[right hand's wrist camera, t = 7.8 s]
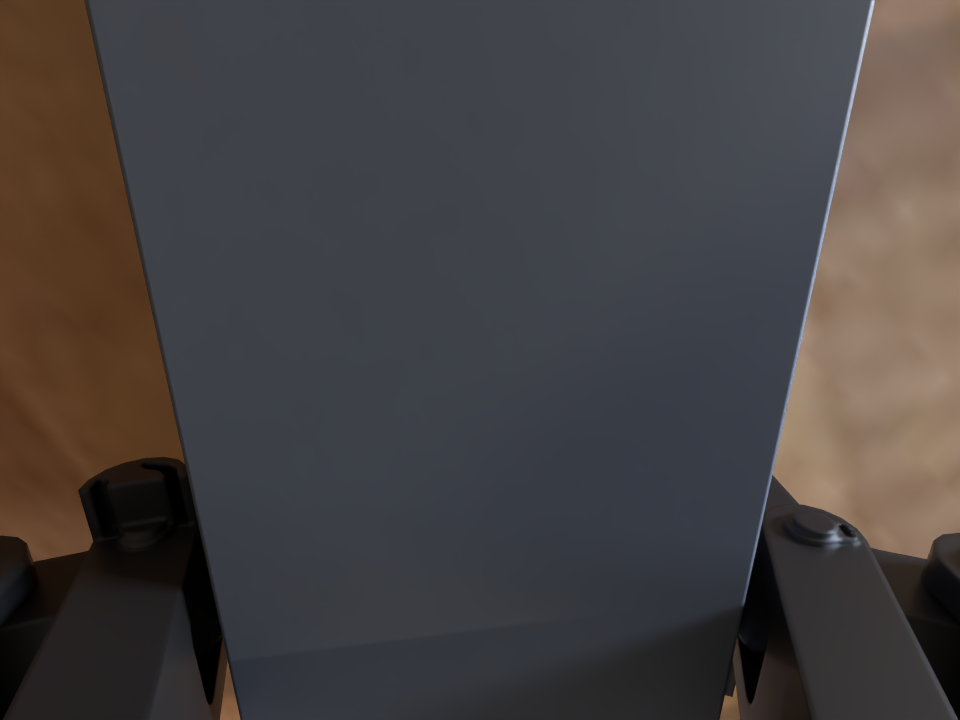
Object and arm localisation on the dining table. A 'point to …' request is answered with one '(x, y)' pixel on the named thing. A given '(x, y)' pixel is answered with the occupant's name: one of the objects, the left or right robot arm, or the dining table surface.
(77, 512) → the dining table surface
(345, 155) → the beam
